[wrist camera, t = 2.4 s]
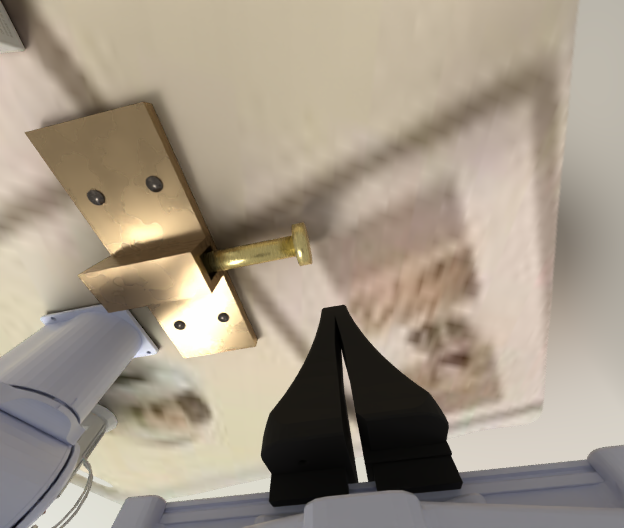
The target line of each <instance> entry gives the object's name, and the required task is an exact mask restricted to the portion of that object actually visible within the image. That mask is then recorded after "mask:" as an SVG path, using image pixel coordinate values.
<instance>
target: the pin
mask: <svg viewBox="0 0 624 528" xmlns="http://www.w3.org/2000/svg"><path fill="white" fill-rule="evenodd" d="M295 256H296V257H297V260H298V263H299V265H300V266H303V265H308V264H312V254H311V248H310V243H309V238H308V234H307V230H306V226H305V223H304V222H302V223H298V224H293V225H292V236H287V237H282V238H278V239H273V240H268V241H263V242H258V243H253V244H248V245H243V246H238V247H233V248H228V249H223V250H218V251H213V252H208V253H203V254H201V255H200V256H199V257H200V259H201V261H202V263H203V265H204V267H205V269H206V271H207V273H212V272H217V271H223V270H228V269H233V268H238V267H243V266H248V265H253V264H259V263H264V262H269V261H274V260H279V259H284V258H289V257H295Z"/></svg>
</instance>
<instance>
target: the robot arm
mask: <svg viewBox="0 0 624 528" xmlns="http://www.w3.org/2000/svg"><path fill="white" fill-rule="evenodd" d="M40 320H41V321H42V322H43V323H44V324H45V326H44V327H42V328H41V329H40V330H38V331H37V332H35V333H34V334H33V335H31V336H30V337H28V338H27V339H25V340H24V341H23V342H21V343H20V344H18V345H17V346H16V347H14V348H13V349H11V350H10V351H9V352H7V353H6V354H4V355H3V356H1V357H0V528H28V527H29V526H31V525H32V524H33V523H34V522H35V521H36V520H37V519H38V518H39V517H40V516H41V515H42V514H43V513H44V511H45V510H46V509H47V508H48V507H49V506H50V505H51V503H52V502H53V501H54V500H55V499H56V497H57V496H58V495H59V493H60V492H61V491H62V489H63V488H64V486H65V485H66V484H67V482H68V480H69V479H70V477H71V475H72V473H73V471H74V469H75V467H76V464H77V460H78V458H79V454H80V445H79V444H78V443H77V441H78V439H79V438H80V437H81V435H82V434H83V433H84V431H85V429H84V428H83V427H82V426H80V424H81V423H82V422H83V420H84V419H85V418H86V417H87V415H88V414H89V413H90V412H91V410H92V409H93V408H94V407H95V405H96V404H97V403H98V402H99V400H100V399H101V398H102V396H103V395H104V394H105V393H106V391H107V390H108V389H109V388H110V386H111V385H112V384H113V383H114V381H115V380H116V379H117V378H118V376H119V375H120V374H121V373H122V371H123V370H124V369H125V368H126V366H127V365H128V364H129V363H130V361H131V360H132V359H133V358H136V357H142V356H148V355H154V354H157V352H158V351H159V350H158V348H157V347H156V345H155V344H154V343H153V341H152V340H151V339H150V337H149V336H148V335H147V334H146V332H145V331H144V330H143V328H142V327H141V326H140V324H139V323H138V322H137V320H136V319H135V318H134V317H133V315H132V314H131V313H130V311H129V310H123V311H117V312H112V313H108V312H107V310H106V309H105V308H104V307H103V306H102V304H100V305H94V306H89V307H84V308H79V309H73V310H68V311H63V312H58V313H52V314H47V315H44V316H42V317H41V318H40ZM341 350H342V353H343V357H344V361H345V365H346V368H347V372H348V376H349V380H350V384H351V389H352V395H353V400H354V406H355V412H356V417H357V423H358V428H359V434H360V439H361V444H362V450H363V456H364V460H365V466H366V472H367V477H368V482H363V483H358V477H357V471H356V465H355V458H354V452H353V445H352V439H351V433H350V426H349V420H348V413H347V407H346V400H345V394H344V383H343V368H342V353H341ZM448 429H449V425H448V421H447V419H446V417H445V415H444V414H443V412H442V410H441V409H440V407H439V406H438V404H437V403H436V401H435V400H434V399H433V397H432V396H431V395H430V393H429V392H427V391H426V390H424V389H423V388H421V387H420V386H419V385H417V384H416V383H414V382H413V381H412V380H410V379H409V378H408V377H406V376H405V375H404V374H403V373H401V372H400V371H399V370H398V369H397V368H396V367H394V366H393V365H392V364H391V363H390V362H389V361H388V360H386V359H385V358H384V357H383V356H382V355H381V354H380V353H379V352H378V351H377V350H376V349H375V347H374V346H373V345H372V344H371V343H370V342H369V341H368V339H367V338H366V337H365V336H364V335H363V333H362V332H361V331H360V329H359V328H358V326H357V325H356V324H355V322H354V321H353V319H352V317H351V316H350V314H349V312H348V310H347V308H346V306H345V305H340V306H334V307H328V308H323V309H322V312H321V318H320V323H319V326H318V330H317V333H316V336H315V339H314V341H313V344H312V347H311V349H310V351H309V354H308V356H307V358H306V360H305V362H304V364H303V366H302V368H301V369H300V371H299V373H298V375H297V376H296V378H295V380H294V381H293V383H292V384H291V386H290V387H289V389H288V390H287V392H286V393H285V395H284V396H283V397H282V399H281V400H280V401H279V402H278V404H277V405H276V406H275V408H274V409H273V410H272V411H271V413H270V414H269V417H268V421H267V424H266V428H265V431H264V436H263V443H262V450H261V458H262V460H263V462H264V463H265V465H266V466H267V468H268V469H269V471H270V472H271V474H272V475H271V484H270V492H265V493H255V494H245V495H235V496H226V497H216V498H207V499H196V500H187V501H177V502H167V503H166V501H165V500H164V499H163V498H162V497H160V496H156V495H146V496H137V497H128V498H127V499H126V500H125V502H124V504H123V506H122V508H121V510H120V512H119V514H118V515H117V518H116V520H115V521H114V523H113V525H112V527H111V528H624V445H619V446H611V447H602V448H598V449H596V450H593V451H592V452H591V453H590V454H589V455H588V457H587V460H578V461H568V462H558V463H548V464H538V465H528V466H519V467H509V468H499V469H490V470H480V471H470V472H460V473H459V472H458V470H457V468H456V466H455V463H454V461H453V459H452V457H451V455H452V453H451V450H450V447H449V445H448V443H447V441H446V440H447V434H448Z"/></svg>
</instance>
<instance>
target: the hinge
mask: <svg viewBox="0 0 624 528" xmlns="http://www.w3.org/2000/svg"><path fill="white" fill-rule="evenodd" d="M25 134H26V135H27V137H28V138H29V140H30V141H31V142H32V144H33V145H34V147H35V148H36V149H37V151H38V152H39V154H40V155H41V157H42V158H43V159H44V161H45V162H46V164H47V165H48V166H49V168H50V169H51V171H52V172H53V174H54V175H55V176H56V178H57V179H58V181H59V182H60V183H61V185H62V186H63V188H64V189H65V190H66V192H67V193H68V195H69V196H70V198H71V199H72V200H73V202H74V203H75V205H76V206H77V207H78V209H79V210H80V212H81V213H82V215H83V216H84V217H85V219H86V220H87V222H88V223H89V224H90V226H91V227H92V229H93V230H94V232H95V233H96V234H97V236H98V237H99V239H100V240H101V241H102V243H103V244H104V246H105V247H106V248H107V250H108V251H109V253H110V254H111V256H109V257H107V258H106V259H104V260H102V261H101V262H99V263H97V264H96V265H94V266H92V267H90V268H89V269H87V270H85V271H84V272H82V273H80V274H79V275H78V277H79V278H80V279H81V280H82V281H83V283H84V284H85V285H86V286H87V288H88V289H89V290H90V291H91V292H92V294H93V295H94V296H95V297H96V298H97V300H98V301H99V302H100V303H101V304H102V306H103V307H104V308H105V309H106V310H107V312H108V313H112V312H117V311H123V310H128V309H134V308H139V307H144V306H148V308H149V309H150V311H151V312H152V314H153V315H154V316H155V318H156V319H157V321H158V322H159V323H160V325H161V326H162V328H163V329H164V330H165V332H166V333H167V335H168V336H169V338H170V339H171V340H172V342H173V343H174V345H175V346H176V347H177V349H178V350H179V352H180V353H181V355H182V356H183V357H184V358H189V357H195V356H201V355H207V354H213V353H219V352H225V351H231V350H237V349H243V348H249V347H255V346H256V344H257V337H256V335H255V333H254V331H253V328H252V326H251V324H250V322H249V320H248V317H247V315H246V313H245V311H244V308H243V306H242V304H241V302H240V299H239V297H238V295H237V293H236V291H235V288H234V286H233V284H232V282H231V279H230V277H229V275H228V273H227V271H226V270H223V271H217V272H212V273H207V271H206V269H205V267H204V265H203V263H202V261H201V259H200V257H199V256H200V255H201V254H203V253H208V252H213V251H218V250H217V248H216V246H215V244H214V242H213V239H212V237H211V235H210V233H209V230H208V228H207V226H206V224H205V221H204V219H203V217H202V215H201V213H200V210H199V208H198V206H197V204H196V201H195V199H194V197H193V195H192V192H191V190H190V188H189V186H188V184H187V181H186V179H185V177H184V175H183V172H182V170H181V168H180V166H179V163H178V161H177V159H176V157H175V155H174V152H173V150H172V148H171V146H170V143H169V141H168V139H167V137H166V134H165V132H164V130H163V128H162V126H161V123H160V121H159V119H158V117H157V114H156V112H155V110H154V108H153V105H152V104H150V103H146V102H140V103H136V104H132V105H129V106H125V107H121V108H117V109H113V110H109V111H106V112H102V113H98V114H94V115H90V116H86V117H83V118H79V119H75V120H71V121H67V122H63V123H60V124H56V125H52V126H48V127H44V128H40V129H36V130H33V131H29V132H25Z"/></svg>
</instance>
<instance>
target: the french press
mask: <svg viewBox="0 0 624 528" xmlns="http://www.w3.org/2000/svg"><path fill="white" fill-rule="evenodd" d="M117 423H118V421H117V419H116V417H115V415H114V414H113V413H112V412H111V411H109V410H108V409H107V408H105V407H103V406H101V405H99V404H96V405H95V407H94V408H93V409H92V410H91V412H90V413H89V414H88V415H87V417H86V418H85V419H84V420H83V422H82V423H81V424H80V426H82V427H83V428H84V429H85V431H84V433H83V434H82V435H81V437H80V438H79V439H78V441H77V443H78V444H79V445H80V454H79V458H78V460H77V464H76V467H75V470H74V471H73V473H72V475H71V477H70V479H69V480H68V482H67V484H66V485H65V486H64V488H63V489H62V491H61V492H60V493H59V495H58V496H57V497H56V498H58V497H60V495H61V494H62V492H63V491H64V489H65V488H66V486H67V485H68V483H69V482H70V481H71V479H72V478H73V476H74V475H75V474H76V472H77V471H78V469H79V468H80V466H81V465H82V463H83V465H84V466H85V467H86V469H87V470H88V471H89V477H88V481H87V484H86V487H85V489H84V492H83V494H82V495H81V496H80V498H79V500H78V501H77V502H76V504H75V505H74V507H73V508H72V509H71V510H70V511H69V512H68V514H67V515H66V516H65V517H64V518H63V519H62V520H61V521H60V522H59V523H58V524H57V525H55V526H54V527H52V528H56V527H57V526H58V525H60V524H61V523H62V522H63V521H64V520H65V518H66V517H67V516H68V515H69V514H70V513H71V512H72V511H73V510H74V508H76V506H77V505H78V504H79V502H80V500H81V499H82V497H83V495H84V494H85V492H86V490H87V488H88V490H87V492H86V494H85V496H84V498H83V500H82V501H81V503H80V505H79V506H78V508H77V510H76V511H75V512H74V513H73V515H72V516H71V517H70V518H69V519H68V520H67V521H66V522H65V523H64V524H63V525H62V526H61V527H60V528H63V527H64V526H65V525H66V524H67V523H68V522H69V521H70V520H71V519H72V518H73V517H74V515H76V513H77V512H78V511H79V509H80V507H81V506H82V504H83V503H84V501H85V499H86V498H87V496H88V493H89V491H90V488H91V485H92V479H93V474H92V469H91V465H90V463H89V462H88V461H87V458H88V457H89V455H90V454H91V453H92V451H93V450H94V448H95V447H96V445H97V444H98V442H99V441H100V439H101V438H102V436H103V435H104V433H107V432H109V431H110V430H112V429H114V428H116V425H117ZM77 465H78V466H77ZM88 485H89V486H88ZM45 512H46V510H45V511H44V513H45ZM44 513H43V514H44ZM43 514H42V515H43ZM31 528H38V526H37V525H34V526H32V527H31Z"/></svg>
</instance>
